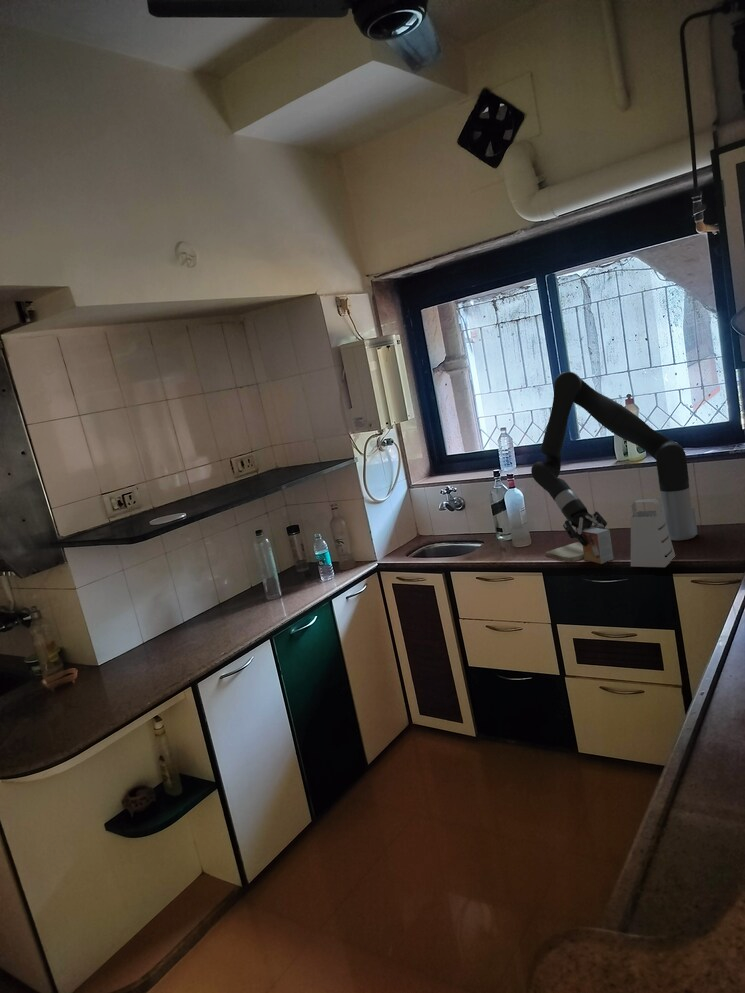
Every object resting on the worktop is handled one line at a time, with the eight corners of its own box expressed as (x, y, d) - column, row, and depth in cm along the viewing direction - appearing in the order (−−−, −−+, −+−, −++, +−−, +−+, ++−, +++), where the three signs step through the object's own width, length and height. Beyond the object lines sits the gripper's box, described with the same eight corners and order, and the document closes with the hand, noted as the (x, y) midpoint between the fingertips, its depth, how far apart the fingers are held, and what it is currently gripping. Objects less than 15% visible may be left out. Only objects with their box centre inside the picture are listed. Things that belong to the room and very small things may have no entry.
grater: (642, 556, 218) (633, 497, 215) (675, 556, 211) (667, 495, 208) (630, 566, 210) (622, 505, 207) (665, 567, 203) (656, 504, 200)
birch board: (577, 545, 244) (577, 542, 244) (603, 551, 231) (602, 547, 231) (546, 556, 239) (545, 552, 239) (570, 562, 226) (570, 558, 226)
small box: (584, 560, 225) (579, 530, 224) (596, 556, 228) (592, 526, 226) (601, 564, 218) (596, 533, 217) (614, 559, 220) (609, 529, 219)
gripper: (557, 503, 225) (584, 540, 216) (591, 493, 230) (618, 529, 221) (550, 517, 231) (576, 553, 222) (583, 507, 236) (609, 542, 227)
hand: (597, 541), depth 221 cm, fingers open, 8 cm apart
